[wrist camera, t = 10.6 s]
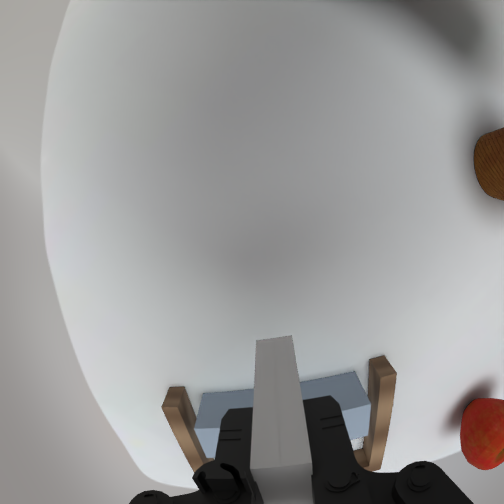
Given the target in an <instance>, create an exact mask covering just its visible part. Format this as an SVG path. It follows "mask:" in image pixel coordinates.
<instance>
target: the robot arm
mask: <svg viewBox="0 0 504 504" xmlns="http://www.w3.org/2000/svg"><path fill="white" fill-rule="evenodd" d="M192 479H193V480H194V482H195V483H196V485H197V486H198V488H199V489H200V490H198V491H196V492H193V493H190V494H185V495H179V496H174V497H169V496H168V495H167V494H165V493H163V492H161V491H155V490H150V491H144V492H142V493H140V494H138V495H137V496H135V497H134V498H133V499H132V500H131V502H130V503H129V504H473V502H472V501H471V500H470V499H469V498H468V497H467V496H466V495H465V494H464V493H463V492H462V491H461V490H460V489H459V487H458V486H457V485H456V484H455V483H454V482H453V481H452V480H451V479H450V478H449V477H448V476H447V475H446V474H445V472H444V471H443V470H442V469H441V468H440V467H438V466H437V465H436V464H434V463H431V462H427V461H419V462H414V463H412V464H409V465H407V466H406V467H404V468H403V469H402V470H401V471H400V472H394V473H377V472H371V471H368V470H366V469H364V468H363V467H361V466H360V465H359V464H358V462H357V460H356V458H355V455H354V452H353V448H352V445H351V441H350V438H349V434H348V431H347V428H346V425H345V421H344V418H343V414H342V411H341V408H340V404H339V403H338V402H337V401H336V400H335V399H334V398H333V397H332V396H331V395H328V396H323V397H317V398H311V399H305V400H302V394H301V388H300V382H299V375H298V369H297V363H296V358H295V352H294V346H293V340H292V335H291V336H285V337H278V338H271V339H263V340H256V356H255V378H254V400H253V407H247V408H234V409H228V411H227V412H226V414H225V415H224V416H223V418H222V419H221V425H220V433H219V436H218V442H217V448H216V454H215V460H213V461H210V462H208V463H205V464H203V465H202V466H200V467H199V468H198V469H197V470H196V471H195V473H194V475H193V477H192Z"/></svg>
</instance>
